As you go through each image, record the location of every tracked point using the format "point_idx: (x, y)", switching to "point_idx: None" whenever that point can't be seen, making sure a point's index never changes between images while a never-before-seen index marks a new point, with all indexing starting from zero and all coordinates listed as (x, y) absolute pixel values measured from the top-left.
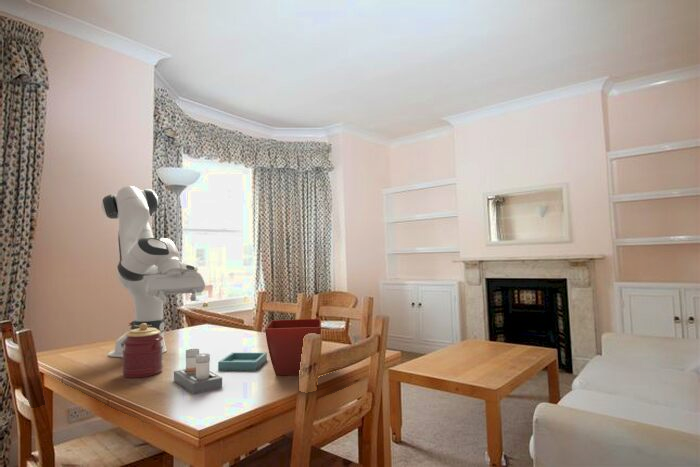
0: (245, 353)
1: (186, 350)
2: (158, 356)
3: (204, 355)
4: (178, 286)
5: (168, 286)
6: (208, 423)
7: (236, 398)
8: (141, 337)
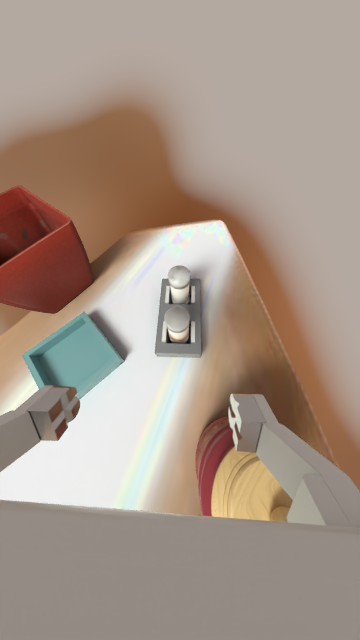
0: (44, 384)
1: (186, 322)
2: (215, 429)
3: (178, 270)
4: (83, 553)
5: (280, 598)
6: (213, 224)
7: (170, 251)
8: None
